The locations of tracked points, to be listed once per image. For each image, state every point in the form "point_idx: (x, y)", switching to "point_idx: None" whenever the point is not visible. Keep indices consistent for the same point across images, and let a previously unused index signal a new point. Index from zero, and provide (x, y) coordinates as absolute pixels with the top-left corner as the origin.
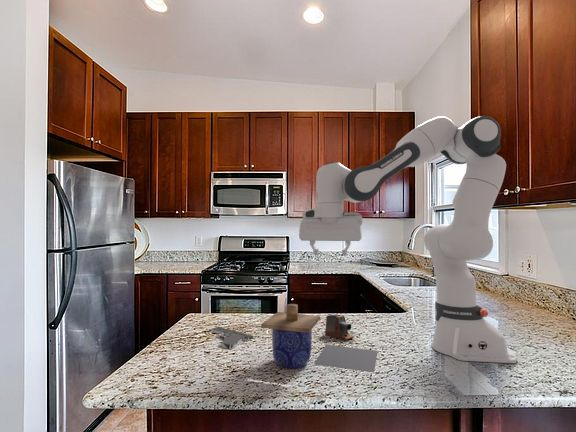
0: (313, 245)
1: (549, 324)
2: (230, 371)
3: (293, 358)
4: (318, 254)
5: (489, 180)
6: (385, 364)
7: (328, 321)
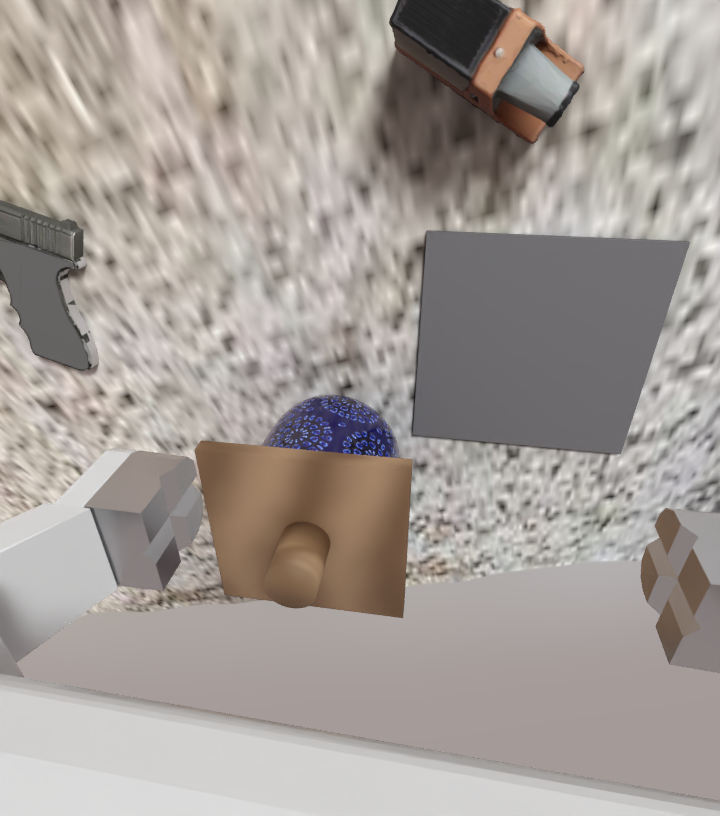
0: (16, 616)
1: None
2: (203, 504)
3: None
4: (193, 464)
5: None
6: (684, 370)
7: (412, 46)
